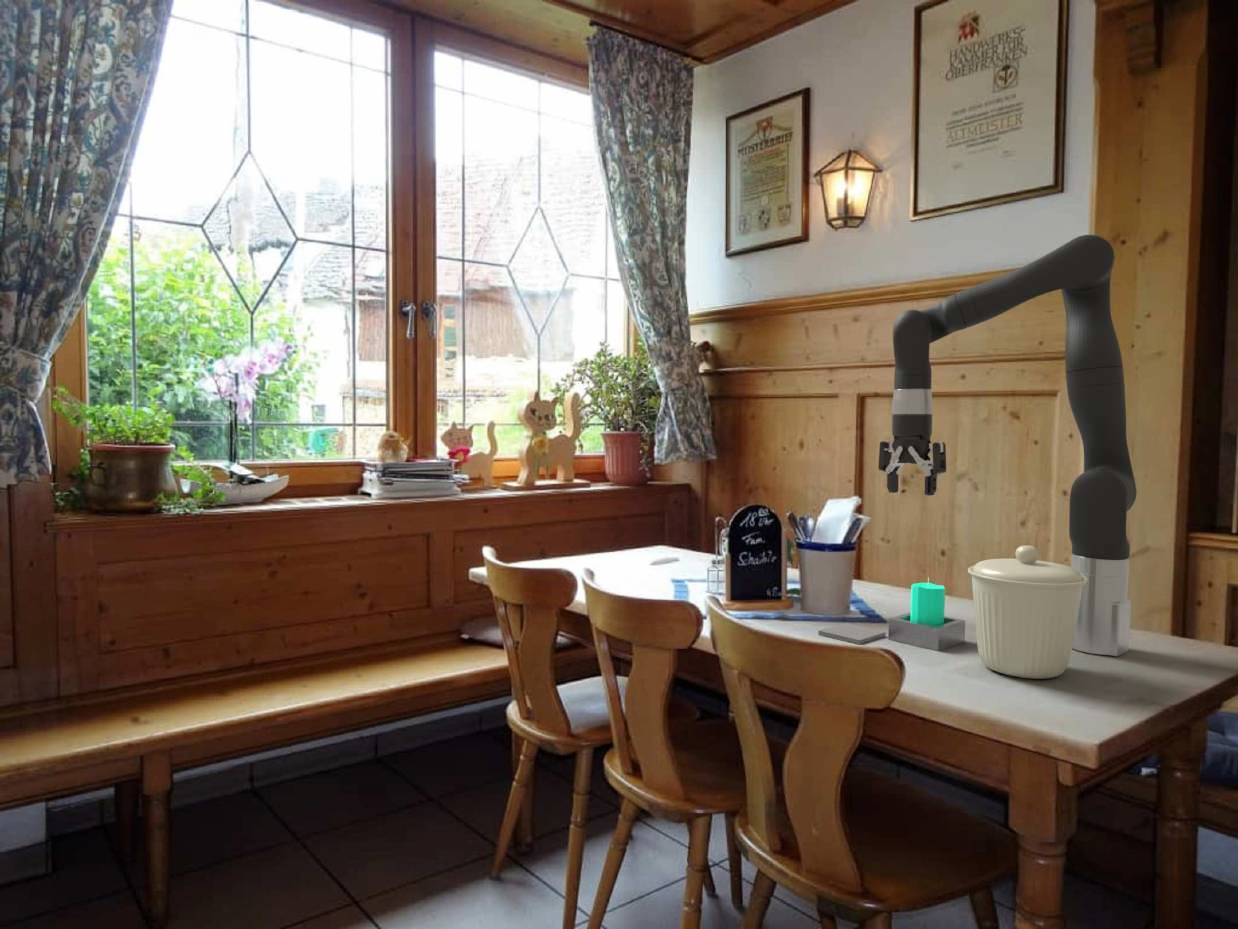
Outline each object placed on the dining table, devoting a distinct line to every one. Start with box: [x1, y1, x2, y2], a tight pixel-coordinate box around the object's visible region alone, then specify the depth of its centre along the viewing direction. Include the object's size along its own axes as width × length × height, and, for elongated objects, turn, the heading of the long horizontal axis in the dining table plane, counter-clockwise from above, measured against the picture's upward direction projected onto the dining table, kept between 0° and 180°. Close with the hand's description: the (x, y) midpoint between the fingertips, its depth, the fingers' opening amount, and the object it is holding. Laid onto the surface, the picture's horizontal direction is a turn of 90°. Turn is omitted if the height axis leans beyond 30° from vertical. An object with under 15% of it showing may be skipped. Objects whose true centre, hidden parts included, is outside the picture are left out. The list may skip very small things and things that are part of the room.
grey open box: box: [887, 611, 966, 651], centre depth 163 cm, size 10×10×4 cm
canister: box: [967, 545, 1088, 680], centre depth 144 cm, size 18×18×21 cm
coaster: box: [817, 623, 887, 645], centre depth 166 cm, size 9×9×1 cm
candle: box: [909, 576, 946, 627], centre depth 163 cm, size 6×6×12 cm
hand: (910, 493), depth 172 cm, fingers open, 8 cm apart
